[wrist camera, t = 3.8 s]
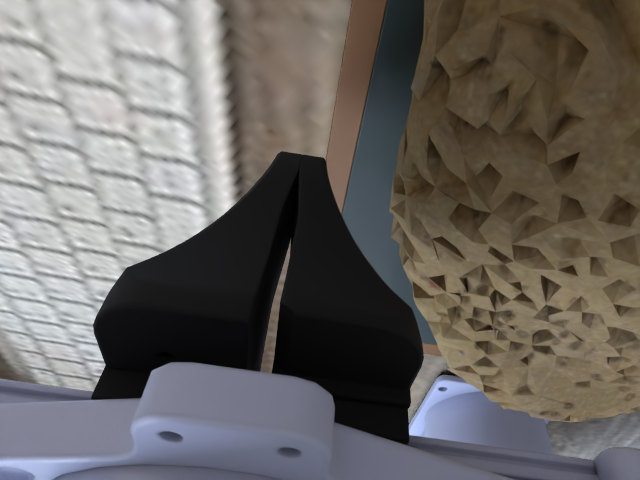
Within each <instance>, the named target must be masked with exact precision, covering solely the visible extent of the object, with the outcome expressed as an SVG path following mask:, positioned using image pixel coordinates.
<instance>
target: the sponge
mask: <svg viewBox="0 0 640 480" xmlns="http://www.w3.org/2000/svg"><path fill="white" fill-rule="evenodd" d="M411 90H412V101H411V105H410V109H409V113H408V118H407V122H406V125H405V128H404V131H403V134H402V137H401V140H400V144H399V151H398V158H397V165H396V169H395V173H394V176H393V183H392V192H391V201H390V210H389V212H391V213H392V214H394V218H393V225H392V232H391V238H393V239H394V240H395V241H396V242H398V243H399V244H400V245H399V256H400V259H401V262H402V265H403V268H404V270H405V272H406V274H407V277H408V278H409V280H410V282H411V284H412V285H413V298H414V301H415V304H416V306H417V308H418V309H419V311H420V312H421V314H422V315H423V316H424V318H425V319H426V321H429V322H428V324H429V327H430V329H431V331H432V333H433V335H434V338H435V340H436V342H437V345H438V348H439V350H440V352H441V354H442V355H443V357H444V359H445V361H446V363H447V365H448V368H449V370H450V372H452V373H454V374H456V375H458V376H460V377H461V378H462V379H463V380H464V381H465V382H467V383H469V384H470V385H472V386H474V387H476V388H477V389H479V390H481V391H482V392H483V393H484V395H485V396H486V397H487V398H488V399H489V400H490V401H493V402H498V404H499V406H500V407H501V408H503V409H504V410H506V409H512V410H516V411H522V412H528V413H529V415H530V416H532V417H535V418H541V419H547V420H555V421H563V422H583V421H585V420H587V419H589V418H591V417H594V418H609V417H614V416H616V415H619V414H621V413H625V414H631V413H633V412H635V411H640V0H424V31H423V41H422V45H421V49H420V54H419V58H418V62H417V67H416V71H415V76H414V79H413V82H412V85H411Z"/></svg>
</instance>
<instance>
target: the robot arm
mask: <svg viewBox="0 0 640 480" xmlns="http://www.w3.org/2000/svg"><path fill="white" fill-rule="evenodd" d="M290 240H291V250H290V260H289V265H288V270H287V274H286V279H285V283H284V288H283V292H282V297H281V301H280V310H279V320H278V329H277V338H276V347H275V356H274V363H273V369H272V373H265V372H260V369H261V363H262V357H263V352H264V346H265V340H266V335H267V329H268V324H269V318H270V313H271V307H272V303H273V299H274V295H275V291H276V288H277V285H278V281H279V278H280V274H281V271H282V267H283V264H284V261H285V257H286V254H287V250H288V247H289V243H290ZM93 327H94V334H95V337H96V340H97V342H98V345H99V348H100V351H101V353H102V356H103V359H104V362H105V364H106V366H105V368H104V370H103V373H102V375H101V377H100V379H99V381H98V383H97V385H96V388H95V390H94V392H92V391H84V390H77V389H70V388H62V387H55V386H48V385H41V384H33V383H26V382H19V381H11V380H4V379H0V480H640V449H636V448H629V447H614V448H609V449H606V450H604V451H603V452H601V453H600V454H599V455H598V456H597V457H596V458H595V459H594V460H588V459H581V458H574V457H566V456H559V455H554V453H553V450H552V446H551V442H550V439H549V435H548V431H547V428H546V424H548V423H549V422H550V421H551V420H547V419H541V418H535V417H532V416H530V415H529V413H528V412H522V411H516V410H512V409H506V410H504V409H503V408H501V407H500V406H499V404H498V402H493V401H490V400H489V399H488V398H487V397H486V396H485V395H484V393H483V392H482V391H481V390H479V389H477V388H476V387H474V386H472V385H470V384H469V383H467V382H465V381H464V380H463V379H462V378H461V377H458V376H451V375H441V376H439V377H437V378H436V380H435V382H434V383H433V385H432V387H431V388H430V390H429V392H428V394H427V395H426V397H425V399H424V400H423V402H422V404H421V405H420V407H419V409H418V410H417V412H416V414H415V415H414V417H413V419H412V420H411V422H410V424H409V423H408V408H409V407H410V404H411V397H410V387H411V385H412V383H413V382H414V380H415V378H416V376H417V374H418V372H419V370H420V368H421V366H422V363H423V359H424V356H423V345H422V340H421V335H420V331H419V328H418V324H417V321H416V318H415V315H414V312H413V309H412V308H411V307H410V306H409V305H408V304H407V303H405V302H404V301H403V300H402V299H401V298H400V297H399V296H398V295H397V294H396V293H395V292H394V291H393V290H392V289H391V288H390V287H389V286H388V285H387V284H386V283H385V282H384V281H383V280H382V278H381V277H380V276H379V275H378V273H377V272H376V271H375V269H374V268H373V267H372V266H371V264H370V263H369V262H368V260H367V259H366V258H365V256H364V255H363V253H362V252H361V250H360V248H359V247H358V245H357V244H356V242H355V240H354V239H353V237H352V235H351V233H350V231H349V230H348V228H347V226H346V224H345V221H344V219H343V217H342V215H341V213H340V210H339V208H338V205H337V202H336V200H335V197H334V194H333V191H332V188H331V185H330V181H329V177H328V172H327V162H326V161H325V159H324V158H321V157H314V156H308V155H301V154H295V153H288V152H280V153H279V154H277V156H276V158H275V159H274V161H273V162H272V164H271V165H270V167H269V168H268V169H267V171H266V172H265V173H264V174H263V176H262V177H261V178H260V179H259V180H258V181H257V182H256V184H255V185H254V186H253V187H252V188H251V189H250V190H249V191H248V192H247V193H246V194H245V195H244V196H243V197H242V198H241V199H240V200H239V201H238V202H237V203H236V204H235V205H234V206H233V207H232V208H231V209H230V210H228V211H227V212H226V213H225V214H224V215H222V216H221V217H220V218H219V219H217V220H216V221H215V222H214V223H212V224H211V225H209V226H208V227H206V228H205V229H204V230H202V231H201V232H199V233H198V234H196V235H195V236H193V237H191V238H190V239H188V240H186V241H185V242H183V243H181V244H179V245H177V246H175V247H174V248H172V249H170V250H168V251H166V252H164V253H161V254H159V255H157V256H155V257H152V258H150V259H147V260H145V261H143V262H140V263H138V264H135V265H133V266H130V267H127V268H126V269H125V271H124V272H123V274H122V275H121V276H120V278H119V279H118V280H117V282H116V283H115V284H114V286H113V287H112V289H111V290H110V292H109V293H108V295H107V297H106V299H105V301H104V303H103V305H102V307H101V309H100V310H99V312H98V314H97V316H96V319H95V321H94V324H93Z"/></svg>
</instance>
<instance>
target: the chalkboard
mask: <svg viewBox="0 0 640 480" xmlns="http://www.w3.org/2000/svg"><path fill="white" fill-rule="evenodd" d="M423 31H424V0H352V5H351V11H350V17H349V23H348V29H347V35H346V41H345V48H344V54H343V60H342V66H341V72H340V78H339V84H338V90H337V96H336V102H335V108H334V114H333V120H332V126H331V132H330V138H329V145H328V151H327V157H326V162H327V172H328V177H329V181H330V185H331V188H332V191H333V194H334V197H335V200H336V202H337V205H338V208H339V210H340V213H341V215H342V217H343V219H344V221H345V224H346V226H347V228H348V230H349V231H350V233H351V235H352V237H353V239H354V240H355V242H356V244H357V245H358V247H359V248H360V250H361V252H362V253H363V255H364V256H365V258H366V259H367V260H368V262H369V263H370V264H371V266H372V267H373V268H374V269H375V271H376V272H377V273H378V275H379V276H380V277H381V278H382V280H383V281H384V282H385V283H386V284H387V285H388V286H389V287H390V288H391V289H392V290H393V291H394V292H395V293H396V294H397V295H398V296H399V297H400V298H401V299H402V300H403V301H404V302H405V303H407V304H408V305H409V306H410V307H411V308H412V309H413V312H414V315H415V318H416V321H417V324H418V328H419V331H420V335H421V340H422V345H423V354H430V355H437V356H443V355H442V354H441V352H440V350H439V348H438V345H437V342H436V340H435V338H434V335H433V333H432V331H431V329H430V327H429V324H428V322H429V321H426V319H425V318H424V316H423V315H422V314H421V312H420V311H419V309H418V308H417V306H416V304H415V301H414V298H413V285H412V284H411V282H410V280H409V278H408V277H407V274H406V272H405V270H404V268H403V265H402V262H401V259H400V256H399V245H400V244H399V243H398V242H396V241H395V240H394V239H393V238H391V232H392V225H393V218H394V214H392V213H391V212H389V210H390V201H391V192H392V183H393V176H394V173H395V169H396V165H397V158H398V151H399V144H400V140H401V137H402V134H403V131H404V128H405V125H406V122H407V118H408V113H409V109H410V105H411V101H412V90H411V85H412V82H413V79H414V76H415V71H416V67H417V62H418V58H419V54H420V49H421V45H422V41H423Z"/></svg>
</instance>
